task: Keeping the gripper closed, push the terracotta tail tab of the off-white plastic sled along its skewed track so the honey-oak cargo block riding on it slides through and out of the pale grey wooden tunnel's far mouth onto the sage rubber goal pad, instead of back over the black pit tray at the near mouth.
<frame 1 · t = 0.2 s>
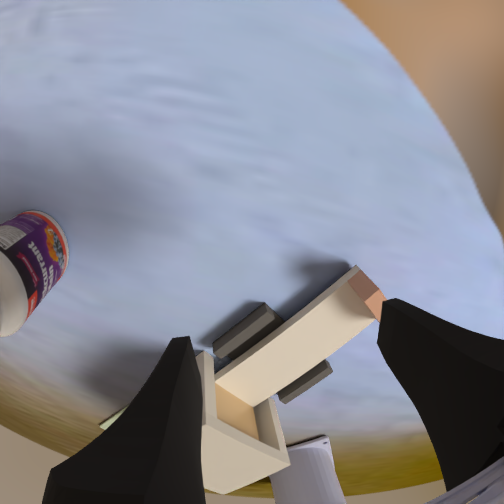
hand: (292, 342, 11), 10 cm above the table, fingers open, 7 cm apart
sled: (267, 391, 21), point 3 cm above the table, slide at 0.0 cm
pill bottle: (40, 245, 18), on the table
pit tray: (274, 354, 24), on the table
tunnel: (211, 398, 25), on the table
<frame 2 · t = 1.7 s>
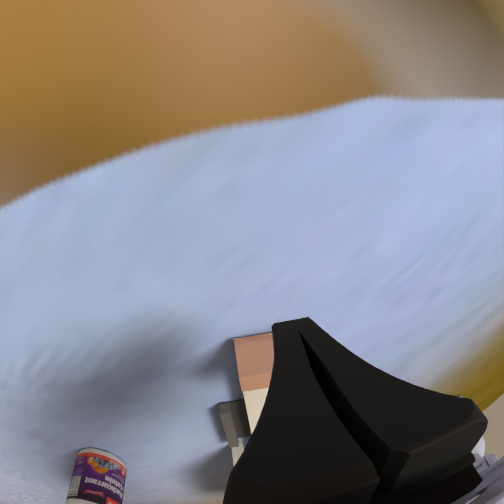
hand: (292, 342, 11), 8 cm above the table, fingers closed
sled: (284, 450, 21), point 3 cm above the table, slide at 0.0 cm
pill bottle: (102, 458, 25), on the table
pit tray: (275, 413, 24), on the table
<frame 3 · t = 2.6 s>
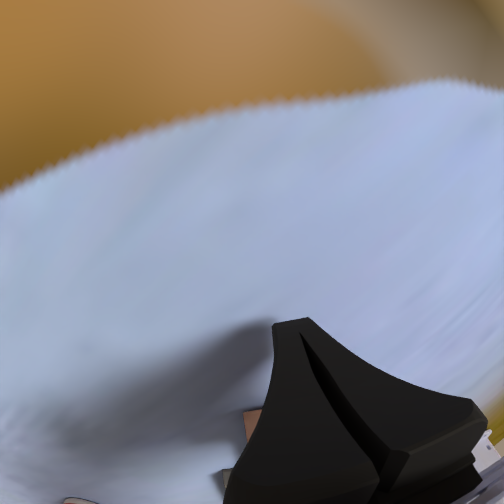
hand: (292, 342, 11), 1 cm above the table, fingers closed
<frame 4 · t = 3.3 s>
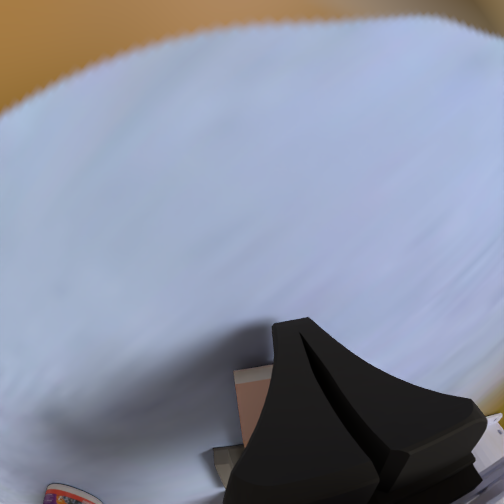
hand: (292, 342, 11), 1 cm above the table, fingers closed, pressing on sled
sled: (301, 503, 14), point 3 cm above the table, slide at 0.0 cm, touching gripper
pill bottle: (76, 494, 18), on the table
pit tray: (290, 456, 16), on the table
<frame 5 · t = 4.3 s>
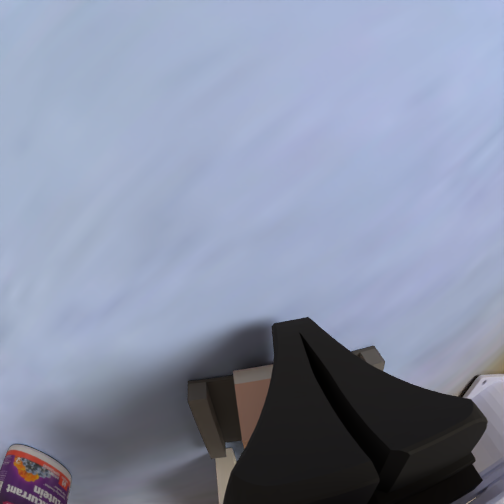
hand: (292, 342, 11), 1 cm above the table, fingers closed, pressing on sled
sled: (301, 503, 14), point 3 cm above the table, slide at 5.8 cm, touching gripper
pill bottle: (40, 461, 15), on the table
pit tray: (287, 401, 14), on the table
tunnel: (291, 464, 17), on the table
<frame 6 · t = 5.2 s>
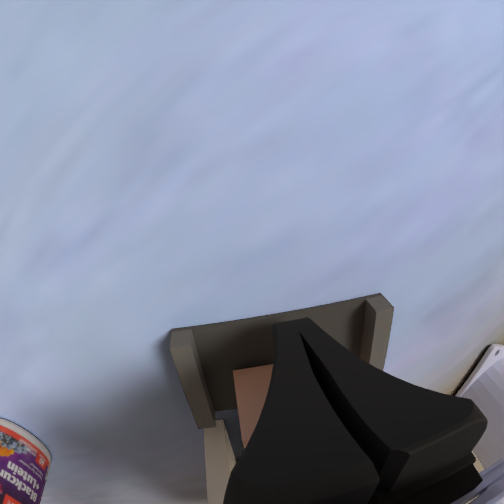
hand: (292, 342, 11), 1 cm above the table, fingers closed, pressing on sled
sled: (300, 503, 14), point 3 cm above the table, slide at 8.7 cm, touching gripper
pill bottle: (19, 438, 14), on the table
pit tray: (284, 359, 13), on the table
tunnel: (290, 443, 16), on the table
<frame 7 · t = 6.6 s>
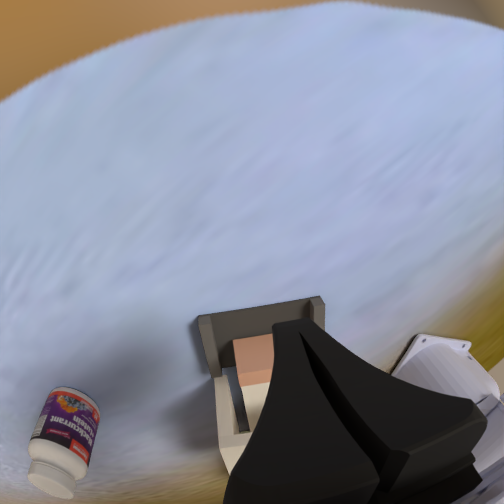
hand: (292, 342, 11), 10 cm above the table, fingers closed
sled: (278, 441, 24), point 3 cm above the table, slide at 8.7 cm
pill bottle: (75, 403, 24), on the table
pit tray: (263, 334, 23), on the table
tunnel: (270, 395, 26), on the table
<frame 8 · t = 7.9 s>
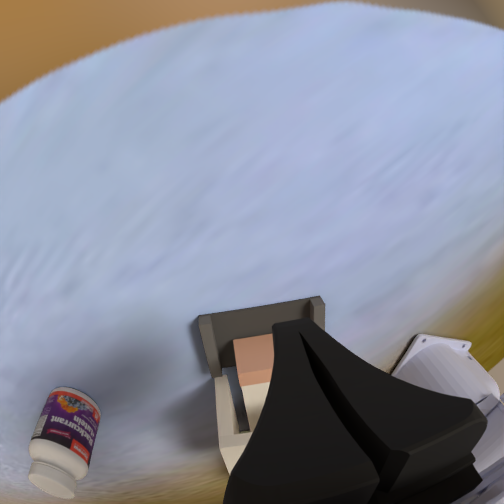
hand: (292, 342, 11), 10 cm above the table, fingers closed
sled: (279, 441, 24), point 3 cm above the table, slide at 8.7 cm
pill bottle: (75, 403, 24), on the table
pit tray: (263, 334, 23), on the table
tunnel: (270, 395, 26), on the table
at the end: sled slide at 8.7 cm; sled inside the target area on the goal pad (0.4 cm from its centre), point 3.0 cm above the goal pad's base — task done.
